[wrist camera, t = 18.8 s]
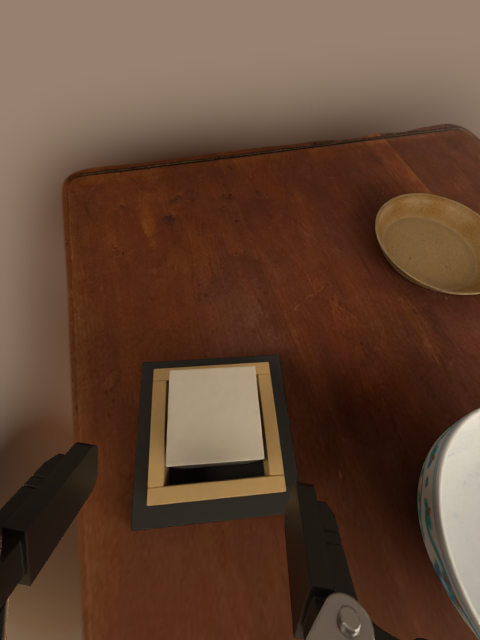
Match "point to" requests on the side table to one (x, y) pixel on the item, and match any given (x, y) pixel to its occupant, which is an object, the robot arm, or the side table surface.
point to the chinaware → (454, 514)
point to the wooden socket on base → (211, 482)
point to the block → (213, 418)
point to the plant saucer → (431, 242)
